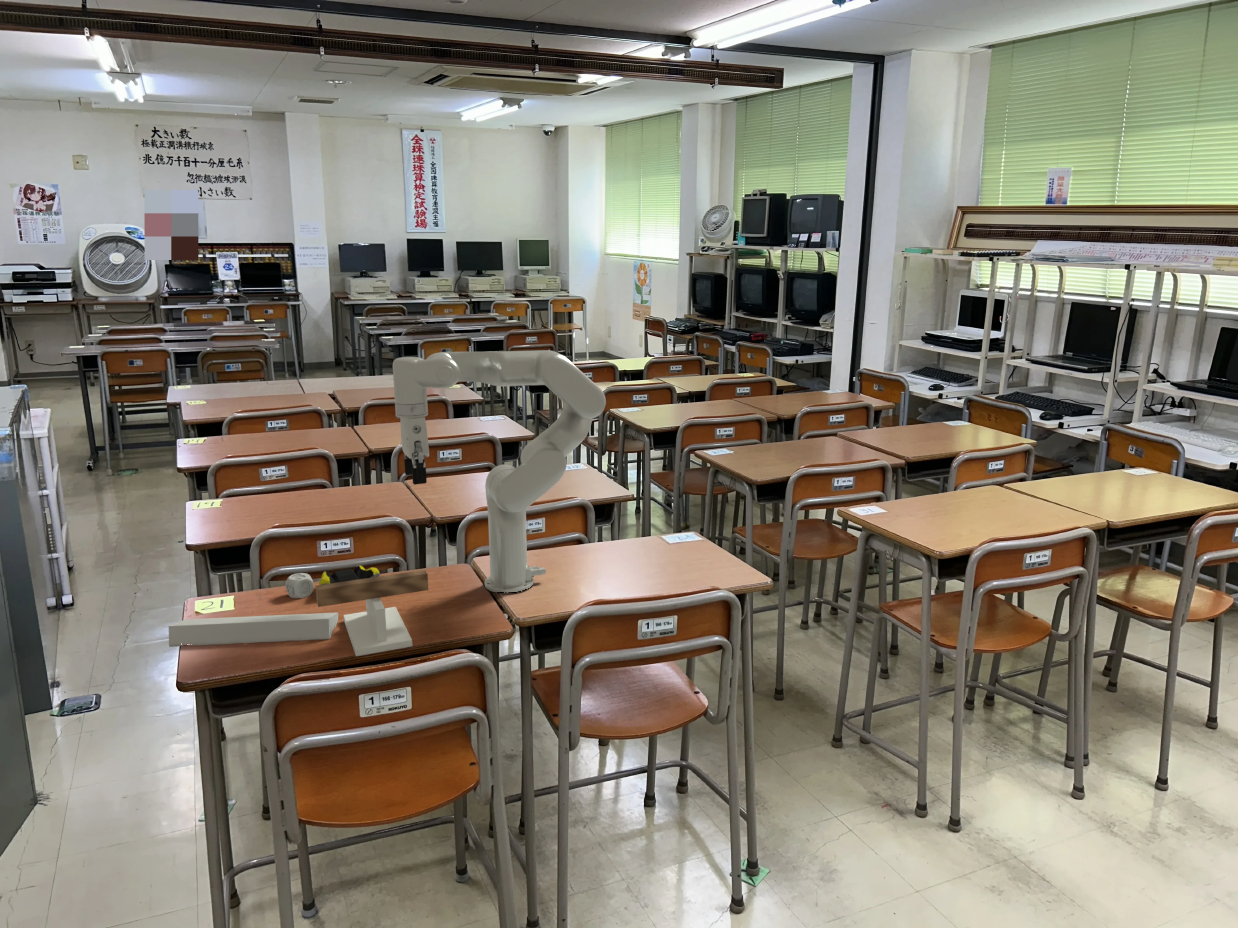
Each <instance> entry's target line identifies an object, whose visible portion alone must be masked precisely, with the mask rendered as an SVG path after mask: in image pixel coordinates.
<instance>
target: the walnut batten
mask: <svg viewBox="0 0 1238 928" xmlns="http://www.w3.org/2000/svg"><path fill="white" fill-rule="evenodd" d="M428 575H429V574H428V572H427V570H426V569H421V570H414V571H408V572H400V573H394V574H393V573H392V574H388V575H380V576H379V577H373V578H366V579H359V580H352V581H345V582H338V583H332V584H325V585H319V584H318V585H315V594H316V595H315V596H316V604H317V607H318V608H320V607H328V606H335V605H340V604H348V603H354V602H360V601H366V600H368V599H374V598H380V599H381V598H386V597H392V596H398V595H405V594H413V593H418V592H424V591H429V578H428V577H429V576H428Z"/></svg>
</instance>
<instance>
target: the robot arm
mask: <svg viewBox="0 0 1238 928" xmlns="http://www.w3.org/2000/svg"><path fill="white" fill-rule="evenodd" d="M392 376H393V377H392V378H393V393H394V395H393V396H394V407H395V408H394V409H395V417H396V418H399V419H400V421H399V422H400V438H401V439H400V440H401V448H402V449H401V450H402V452H403V453H404V455H403V456H404V459H403V461H404V462H403V463H404V475H405V476H411V478H412V484H413V485H414V486H415V485H422V484H427V483H428V482H427V481H428V480H427V466H426V459H425V458H428V457H430V448H429V437H428V429H427V428H428V427H427V422H426V417H427V416H428V415H429V409H428V405H429V404H428V392H427V391H428V390H427V388H432V389H441V390H442V389H450V388H452V387H454V386H455V385H456V384H457V383H458V382H474V383H482V384H486V385H491V386H495V387H516V386H518V387H519V386H520V387H521V386H546V387H547V388H548V390H550V391H551V392H552V393H553V394H554V395H555V396H556V397H558V399H559V400H561V401H562V403H563V404H562V409H561V412H560V414H559V416H558V418H557V419H556V420H554V422H553V423H552V424H551V425H550V426H548V427H547V428H546V429H544V431H543V432H541V433H540V434H538V436H536V437H535V438H533V440H531V441H530V442H528V443H527V444H526V445H525V446H524V447H523V449H522V451H521V452H520V462H521V464H519V465H518V466H517V468H516V467H515V466H513V465H509V464H499V465H496V466H495V467H493V468H492V469H491V470H490V471H489V472H488V474H487V476H486V479H485V485H484V487H485V496H486V497H485V498H486V505H487V518H488V519H487V521H488V546H489V574H490V576H488V577H487V578H485V580H484V587H485V589H487V591H490V592H493V593H497V592H504V593H503V594H509V593H508V592H517V591H521V592H523V591H522V590H525V589H527V590H529V589H531V588H530V587H531V586H532V585H533V586H534V582H535V581H534V577H535V576H543V575H546V574H547V573H546V571H547V570H546V567H544V566H543V567H538V565H534V566H533V565H532V566H529V565H528V550H527V549H528V548H527V547H528V542H527V514H526V511H527V510H526V509H527V508H529V507H530V506H531V505H533V504H534V503H535V502H537V501H538V500H539V499H540V498H542V496H543V495H545V494H546V493H547V492H549V491H550V490H551V489H552V488H553V487H554V486H556V485H557V484H558V483H559V482H560V480H561V479H562V478H563V477H564V474H566V473H565V472H566V470H567V458H566V457H567V456H569V455H570V454H571V453H572V452H573V451H574V450H575V449H576V448H578V446H579V445H581V444H582V442H583V441H584V440H585V439H586V437H587V436H588V433H589V431H590V429H591V428H592V427H591V426H592V422H593V419H595V418H598V417H599V416H601V414H602V413H603V412H604V411H605V408H606V405H607V400H606V395H605V393H604V391H603V390H602V389H601V388H600V387H599V386H598V385H597V384H596V383H595V382H594V381H593V380H591V379H590V378H589V377H588V376H587V375H586V374H585V373H584V372H583V371H582V370H580V369H579V368H578V367H577V366H576V365H575V364H574V363H573V361H571V360H570V359H568V358H567V357H566V356H565V355H564V354H561V353H559V352H557V351H554V350H549V349H548V350H546V349H545V350H543V349H542V350H538V349H537V350H515V351H514V350H513V351H512V350H508V351H507V350H506V351H504V350H503V351H490V350H489V351H442V352H441V351H440V352H435V353H431V354H430V355H428V357H426V359H423V358H422V357H417V356H402V357H397V358H395V359H394V360H393V361H392ZM533 586H532V587H533ZM528 588H529V589H528ZM525 591H526V590H525ZM505 592H507V593H505ZM517 593H518V592H517Z"/></svg>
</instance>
